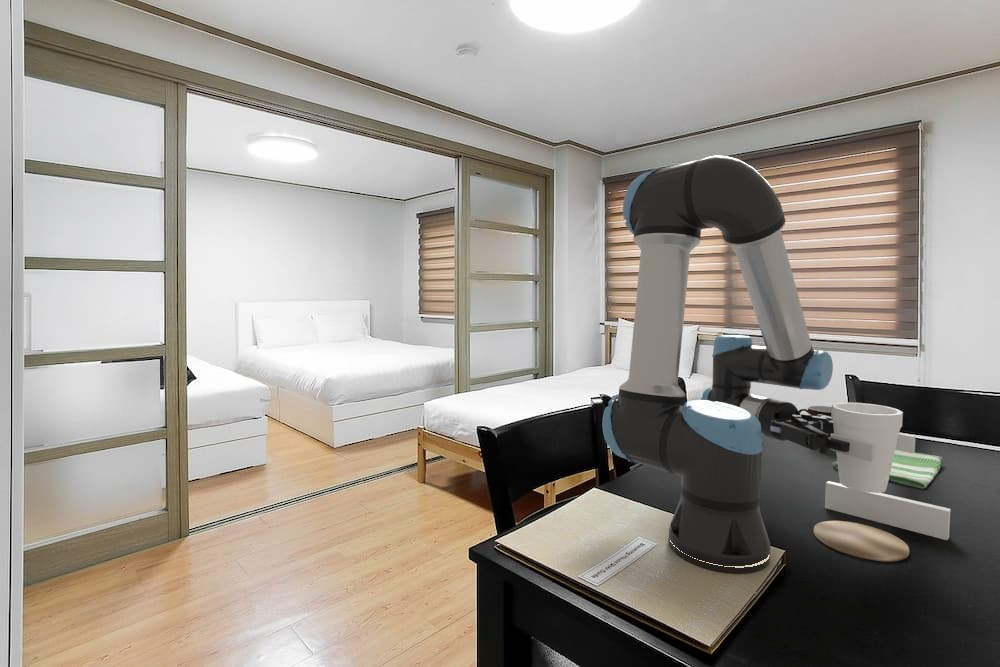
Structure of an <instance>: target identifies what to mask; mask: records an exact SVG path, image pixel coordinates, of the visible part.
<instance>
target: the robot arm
mask: <svg viewBox="0 0 1000 667" xmlns="http://www.w3.org/2000/svg"><path fill="white" fill-rule="evenodd" d="M627 187H628V188H627V190H626V192H625V195H624V198H623V202H622V204H623V205H622V216H623V220H625V226H626V229H627V230H628V231H629V232H630V233H631V234H633V242H634V244H635V245H636V246H637V247H638V248H639V249H640V255H639V256H640V257H639V266H638V267H639V268H638V277H637V287H636V298H635V309H634V318H633V329H632V330H633V331H632V339H631V340H632V341H631V350H630V359H629V360H630V362H629V372H628V378H627V380H626V381H625V382H623V383H621V384H620V385H619V388H618V395H615V396H614V397H612V398H611V399H609V401H608V402H607V405H608V406H606V407H605V408H604V411H603V415H602V434H603V437H604V441H605V443H606V444H607V446H608V447H609V449H610V450H611V452H613V453H614V454H615V455H616V456H618V457H620V458H623V459H625V460H627V461H629V462H631V463H633V464H641V465H643V466H647V467H650V468H654V469H656V470H660V471H663V472H667V473H670V474H672V475H673V474H674V475H676V476H679V477H680V478H681V483H680V484H681V486H680V499H679V501H678V504H677V506H676V510H675V512H674V513H673V514H674V515H673V516H672V519H671V522H670V525H669V528H668V544H669V546H670V548H671V549H672V551H673V552H674V553H675V554H677V555H678V556H679V557H680V558H682V559H684V560H686V561H688V562H690V563H692V564H694V565H695V566H696V565H697V566H699V567H701V568H706V569H709V570H713V571H718V572H722V573H731V574H732V573H733V574H735V573H736V574H738V573H739V574H743V573H744V574H745V573H753V572H758V571H760V570H763V569H765V568H766V567H767V566H768V565H769V564H770V561H771V556H770V557H769V559H768V560H767V561H766V562H764V563H763V564H760V565H757V566H753V567H744V568H735V567H724V566H745V565H752V564H755V563H758V562H760V561H762V560H764V559H766V558H767V557H768V555H769V554H770V555H771V542H770V539H769V536H768V532H767V530H766V527H765V523H764V520H763V517H762V514H761V509H760V494H761V475H762V474H761V473H762V452H763V448H764V447H763V446H764V444H763V439H762V438H763V437H762V436H765V437H767V438H771V439H775V440H778V441H783V442H784V441H785V442H786V441H789V442H791V443H794V444H796V445H799V446H802V447H804V448H807V449H809V450H812V451H815V450H816V451H817V448H818V449H819V453H820V454H824V455H828V453H829V451H832V452H835V453H836V452H839V453H842V454H846V455H849V456H853V457H856V458H860V459H863V460H867V461H870V462H873V461H875V444H873V443H869V442H865V441H861V440H857V439H853V438H849V437H845V436H841V435H838V434H834V427H833V420H832V419H831V417H829V416H825V415H822V414H818V415H817V416H812V415H811V414H808V413H805V412H804V413H802V412H801V413H799V409H798V408H797V406H795V404H793V403H791V402H788V401H784V400H780V399H774V398H772V397H765V396H761V395H758V394H757V395H756V394H751V388H752V383H756V384H766V385H771V386H772V385H773V386H780V387H788V388H792V389H798V390H813V391H820V390H824V389H826V388H827V386H828V385H829V384H830V382H831V380H832V376H833V371H834V369H833V368H834V364H833V358H832V356H831V355H830V354H829V352H828V351H824V350H820V349H814V347H813V346H812V341H811V338H810V337H811V336H810V335H809V331H808V326H807V323H806V320H805V315H804V312H803V308H802V305H801V304H802V303H801V301H800V298H799V293H798V290H797V287H796V285H797V284H796V282H795V279H794V278H795V277H794V275H793V271H792V268H791V264H790V259H789V256H788V253H787V252H788V251H787V248H786V245H785V240H784V238H783V234H782V230H783V228H784V227H785V225H786V218H785V215H784V210H783V206H782V204H781V201H780V200H779V197H778V196H777V193H776V192H775V190H774V189H773V187H772V186H771V184H769V182H768V181H767V180H766V179H765V178H764V177H763V175H762V174H761V173H760V172H758V171H757V170H756V169H755V168H754V167H753V166H751V165H749V164H747V162H746V163H745V162H744V161H742V160H740V159H738V158H734V157H731V156H724V155H712V156H708V157H704V158H702V159H698V160H693V161H688V162H685V163H680V164H679V163H678V164H676V165H671V166H666V167H658V168H655V169H652V170H650V171H647V172H645V173H641V174H640V175H638V176H637V177H636V178H635V179H633V181H632V182H631V183H630V184H629V186H627ZM711 228H716V229H718V230H719V231H720V232H721V235H722V238H723V240H724V242H725V243H726V244H727V245H730V246H732V247H733V250H734V254H735V256H736V260H737V262H738V266H739V269H740V271H741V274H742V277H743V281H744V284H745V287H746V290H747V292H748V296H749V299H750V301H751V302H750V303H751V305H752V308H753V312H754V314H755V316H756V321H757V324H758V328H759V329H760V333H761V336H762V339H763V341H764V342H763V343H764V345H765V346H763V345H754V343H753V339H752V337H751V336H749V335H742V334H720V335H717V336H716V337H715V338H714V340H713V341H714V342H713V349H712V354H711V356H712V384H711V387H707V388H706V389H705V390H704V391H703V393H702V397H701V398H700V399H692V400H688V401H686V393H685V392H684V391H683V389H682V388H681V387H680V386H679V382H678V381H679V372H680V363H681V351H682V340H683V332H684V321H685V320H684V319H685V311H686V310H685V308H686V298H687V288H688V278H689V268H690V267H689V266H690V256H691V252H692V251H693V250H694V249H695V248H696V247H698V246H699V245H700V243H701V234H702V230H703V229H705V230H706V229H711ZM821 429H822V430H823V432H822V431H821ZM828 435H830V437H828ZM896 450H900V451H904V452H908V453H916V435H910V434H906V433H903V432H902V433H901V432H899V435H898V440H897V444H896ZM669 538H670V539H669ZM670 540H671V542H672V543H673V544H672V543H671V542H670ZM673 545H675V547H674V546H673ZM676 547H677V548H678V549H679V550H680V551H679V550H678V549H677V548H676ZM681 551H682V552H683V553H682V552H681ZM684 553H685V554H684ZM686 554H687V555H686ZM688 555H689V556H688ZM690 556H691V557H690ZM692 557H693V558H692ZM694 558H696V559H694ZM697 559H698V560H697ZM699 560H702V561H705V562H702V561H699ZM706 562H709V563H713V564H718V565H723V566H718V565H713V564H709V563H706Z"/></svg>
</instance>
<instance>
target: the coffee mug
mask: <svg viewBox="0 0 1000 667" xmlns="http://www.w3.org/2000/svg"><path fill="white" fill-rule="evenodd" d="M798 411H799V413H800V414H802V412H804V411H805V412H806V414H811V415H812V416H817V415H818V414H822V415H825V416H829V417H831V414H832V406H826V405H810V406H809V405H808V407H807V409H806V408H801V409H798ZM821 431H822V432H823V430H822V429H821ZM828 437H830V435H828Z"/></svg>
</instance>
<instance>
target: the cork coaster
mask: <svg viewBox="0 0 1000 667" xmlns="http://www.w3.org/2000/svg"><path fill="white" fill-rule="evenodd" d="M813 534H814V536H815V538H816V539H817V540H819V542H821V544H822V543H823V545H826V546H827V547H829V548H831V549H833V550H835V551H837V552H841V553H843V554H845V555H849V556H853V557H855V558H860V559H863V560H864V559H865V560H870V561H878V562H899V561H903V560H905V559H907V558H908V557H909V556H910V547H909V545H908V544H907V543H906V542H905V541H903V540H902V539H901V538H899V537H897V536H896V535H894V534H892V533H891V532H887V531H885V530H882V529H880V528H878V527H877V528H876V527H874V526H870V525H866V524H863V523H859V522H852V521H846V520H845V521H843V520H827V521H819V522H818V523H816V524H814V527H813Z"/></svg>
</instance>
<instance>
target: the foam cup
mask: <svg viewBox="0 0 1000 667" xmlns="http://www.w3.org/2000/svg"><path fill="white" fill-rule="evenodd" d="M831 407H832V414H831V419H832V420H833V427H834V434H838V435H841V436H845V437H849V438H853V439H857V440H861V441H865V442H869V443H873V444H875V461H873V462H870V461H867V460H863V459H860V458H856V457H853V456H849V455H846V454H842V453H839V452H835V454H836V462H837V463H838V469H837V471H838V479H839V483H840V484H842V485H844V486H846V487H848V488H851V489H854V490H858V491H863V492H869V493H884V492H885V491H887V487H888V484H889V476H890V471H891V467H892V462H893V458H894V453H895V449H896V444H897V440H898V435H899V433H900V431H901V428H902V427H903V416H904V412H903V411H902V410H900V409H897V408H894V407H891V406H886V405H880V404H873V403H863V402H837V403H833V404H832V405H831Z"/></svg>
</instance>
